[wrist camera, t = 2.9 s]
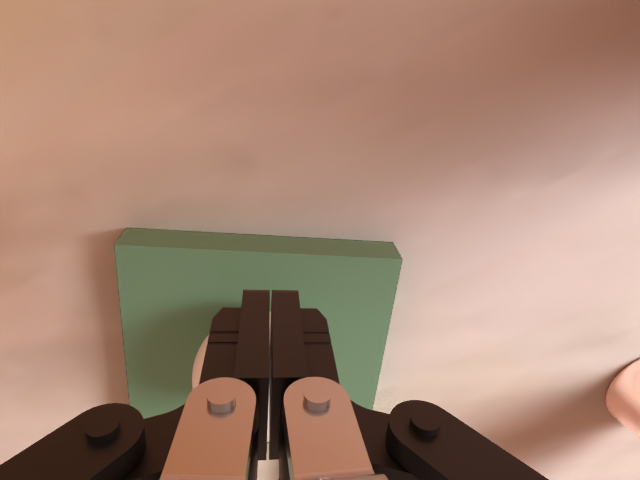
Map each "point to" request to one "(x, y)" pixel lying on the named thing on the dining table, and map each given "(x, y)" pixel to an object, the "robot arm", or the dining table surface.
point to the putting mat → (227, 290)
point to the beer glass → (626, 397)
